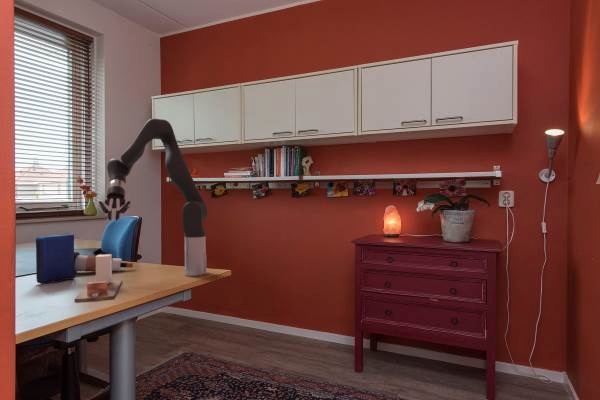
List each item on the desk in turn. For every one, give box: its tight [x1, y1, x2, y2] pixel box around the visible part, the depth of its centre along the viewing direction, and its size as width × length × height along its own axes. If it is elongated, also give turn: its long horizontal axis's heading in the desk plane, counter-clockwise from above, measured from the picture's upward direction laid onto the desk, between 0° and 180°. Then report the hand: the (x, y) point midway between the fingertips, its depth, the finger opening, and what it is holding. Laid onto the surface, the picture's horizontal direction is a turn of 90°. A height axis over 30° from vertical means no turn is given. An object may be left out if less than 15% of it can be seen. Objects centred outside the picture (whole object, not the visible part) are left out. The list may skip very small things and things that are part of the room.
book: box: [35, 232, 77, 285], centre depth 159 cm, size 14×5×20 cm, turn 150°
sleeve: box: [95, 253, 113, 284], centre depth 151 cm, size 5×5×11 cm
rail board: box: [74, 279, 123, 303], centre depth 142 cm, size 12×26×5 cm, turn 20°
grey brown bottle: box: [74, 251, 134, 274], centre depth 177 cm, size 10×34×10 cm, turn 105°
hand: (113, 219), depth 164 cm, fingers closed
